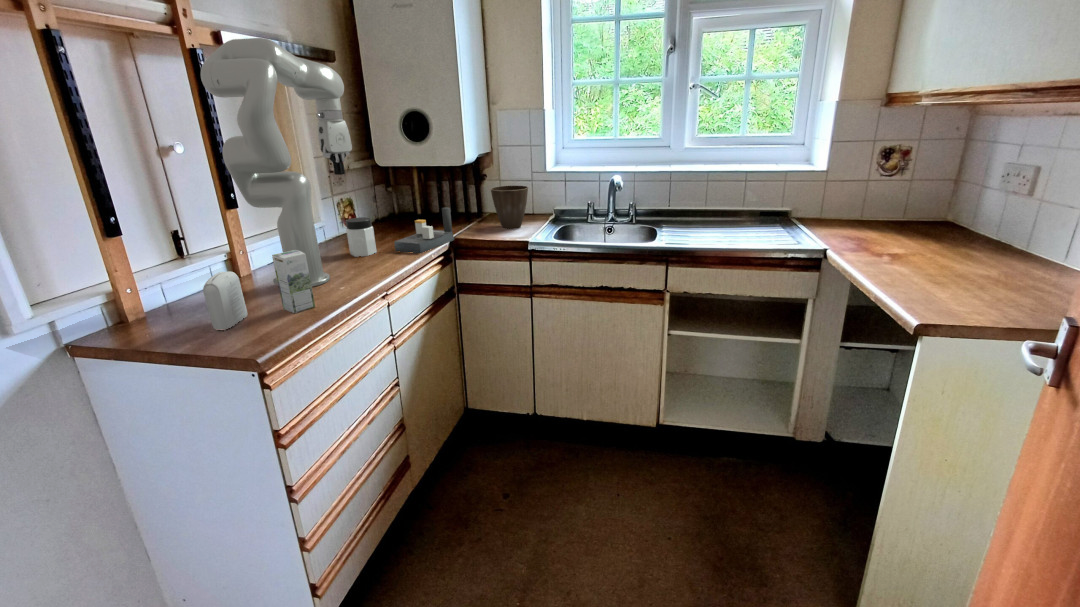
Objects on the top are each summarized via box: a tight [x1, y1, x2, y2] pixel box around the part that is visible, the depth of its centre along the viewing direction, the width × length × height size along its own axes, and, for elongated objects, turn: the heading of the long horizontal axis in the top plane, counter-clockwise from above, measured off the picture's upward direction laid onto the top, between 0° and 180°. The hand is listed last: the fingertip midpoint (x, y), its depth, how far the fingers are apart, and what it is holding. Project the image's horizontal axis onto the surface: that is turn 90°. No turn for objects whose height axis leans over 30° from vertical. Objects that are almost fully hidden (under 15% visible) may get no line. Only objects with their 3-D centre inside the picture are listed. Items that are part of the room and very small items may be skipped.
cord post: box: [441, 206, 455, 241], centre depth 195 cm, size 4×4×12 cm
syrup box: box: [272, 250, 316, 314], centre depth 130 cm, size 6×6×14 cm
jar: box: [345, 217, 377, 258], centre depth 180 cm, size 9×8×12 cm
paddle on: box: [414, 219, 427, 234], centre depth 191 cm, size 2×3×5 cm
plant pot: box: [490, 185, 529, 230], centre depth 211 cm, size 15×15×16 cm
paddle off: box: [421, 225, 434, 239], centre depth 183 cm, size 2×3×4 cm
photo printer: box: [202, 270, 248, 330], centre depth 122 cm, size 10×4×12 cm, turn 3°
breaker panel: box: [393, 229, 454, 254], centre depth 189 cm, size 20×11×4 cm, turn 155°
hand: (340, 174), depth 176 cm, fingers closed
